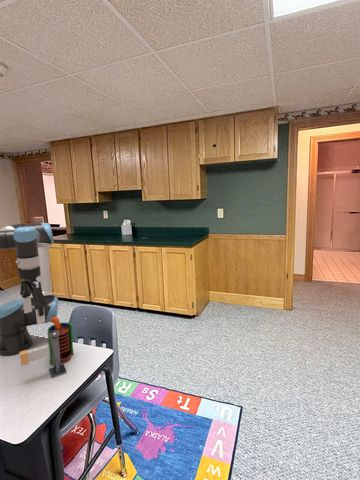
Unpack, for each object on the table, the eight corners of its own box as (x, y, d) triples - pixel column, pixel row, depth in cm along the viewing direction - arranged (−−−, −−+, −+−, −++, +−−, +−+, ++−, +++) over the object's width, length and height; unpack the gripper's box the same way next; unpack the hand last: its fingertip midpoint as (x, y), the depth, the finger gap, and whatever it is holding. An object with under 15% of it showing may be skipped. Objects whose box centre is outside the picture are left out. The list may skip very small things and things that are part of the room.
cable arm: (50, 356, 109) (49, 346, 108) (21, 365, 103) (20, 355, 102) (49, 353, 111) (48, 343, 110) (20, 362, 105) (19, 351, 104)
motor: (62, 367, 116) (59, 324, 113) (45, 364, 118) (40, 322, 114) (76, 353, 126) (73, 314, 122) (59, 351, 127) (56, 313, 124)
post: (48, 370, 113) (45, 331, 111) (63, 365, 117) (60, 327, 114) (51, 378, 109) (47, 337, 106) (66, 372, 112) (63, 333, 109)
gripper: (7, 263, 107) (13, 311, 111) (30, 276, 91) (36, 331, 95) (27, 259, 113) (32, 305, 117) (52, 271, 97) (57, 324, 101)
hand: (34, 317), depth 106 cm, fingers open, 13 cm apart
